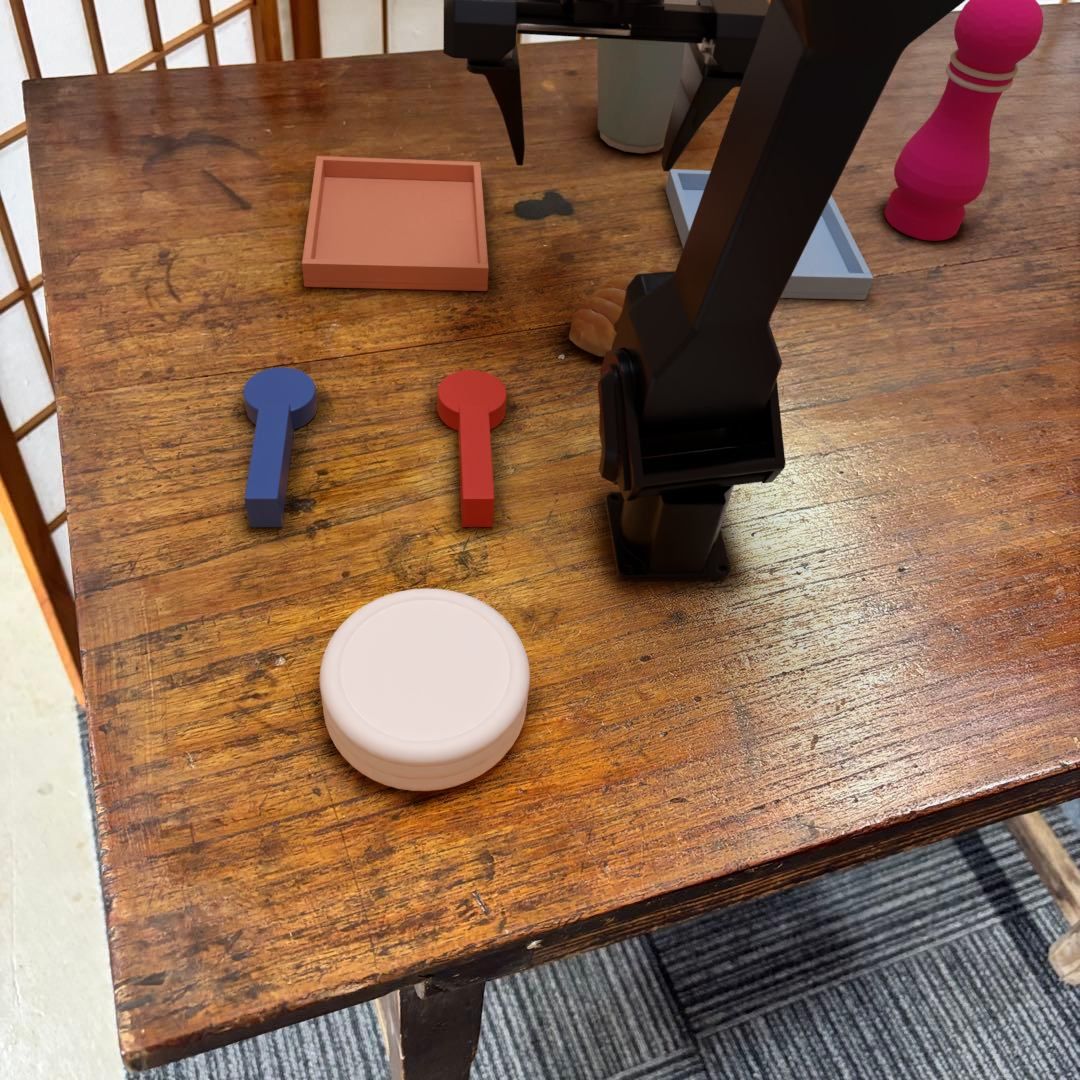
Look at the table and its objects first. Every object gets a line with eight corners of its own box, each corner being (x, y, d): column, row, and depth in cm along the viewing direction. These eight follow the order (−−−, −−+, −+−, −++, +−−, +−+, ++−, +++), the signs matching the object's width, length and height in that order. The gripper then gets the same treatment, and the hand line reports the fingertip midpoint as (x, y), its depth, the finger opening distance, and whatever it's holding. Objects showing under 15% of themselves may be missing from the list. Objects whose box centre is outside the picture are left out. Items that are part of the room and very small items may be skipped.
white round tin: (472, 600, 56) (474, 558, 53) (561, 745, 50) (568, 707, 47) (295, 665, 52) (288, 623, 49) (369, 829, 46) (366, 792, 44)
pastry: (607, 380, 69) (614, 334, 66) (545, 330, 72) (549, 284, 69) (704, 334, 73) (715, 289, 70) (641, 289, 77) (649, 244, 74)
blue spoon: (305, 527, 58) (301, 498, 56) (226, 527, 58) (219, 498, 56) (319, 386, 66) (316, 357, 64) (250, 385, 66) (245, 356, 64)
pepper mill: (930, 254, 83) (1039, -6, 68) (861, 213, 87) (950, -42, 72) (980, 228, 86) (1094, -24, 72) (911, 190, 90) (1007, -58, 75)
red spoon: (515, 527, 59) (517, 498, 58) (439, 527, 59) (439, 498, 57) (503, 388, 68) (505, 360, 66) (437, 388, 67) (437, 359, 65)
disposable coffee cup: (560, 148, 90) (579, -36, 79) (594, 99, 97) (616, -77, 86) (677, 176, 88) (712, -8, 77) (702, 124, 95) (739, -52, 84)
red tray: (487, 291, 75) (488, 267, 73) (304, 287, 73) (301, 263, 72) (479, 184, 85) (480, 161, 83) (318, 178, 83) (316, 155, 82)
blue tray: (865, 300, 78) (873, 277, 76) (697, 296, 76) (702, 273, 75) (814, 195, 88) (821, 174, 86) (665, 190, 86) (669, 168, 85)
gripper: (770, -153, 58) (715, 114, 70) (444, -177, 57) (442, 101, 68) (818, -93, 51) (748, 196, 62) (444, -118, 49) (442, 184, 61)
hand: (592, 165), depth 64 cm, fingers open, 9 cm apart
